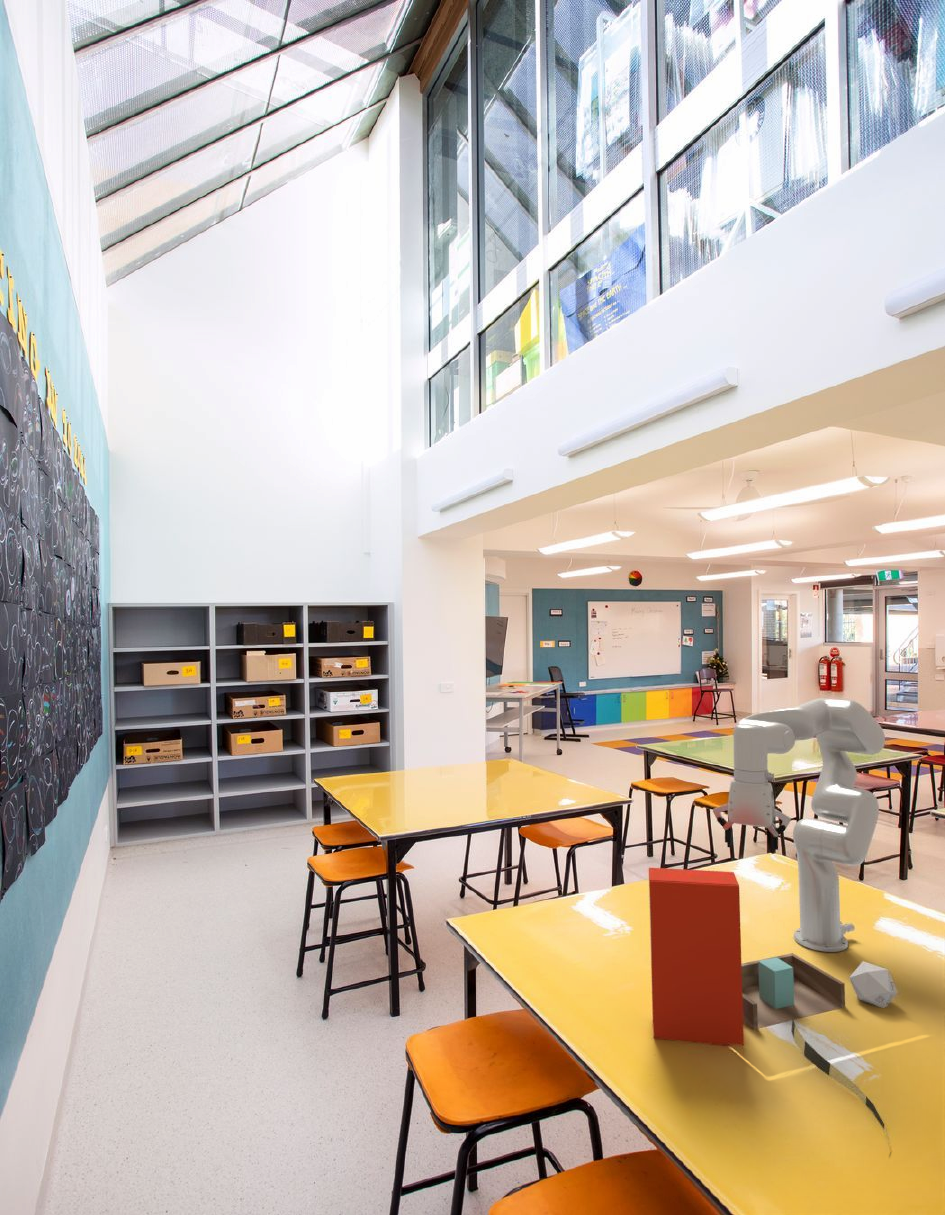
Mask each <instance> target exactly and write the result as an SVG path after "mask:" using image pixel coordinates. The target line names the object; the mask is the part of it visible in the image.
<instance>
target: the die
mask: <svg viewBox="0 0 945 1215" xmlns="http://www.w3.org/2000/svg"><path fill="white" fill-rule="evenodd" d="M848 979H849V981H850V983H851V985H852V988H853V990H854V993H855V995H856V997H857V999H859V1001H861V1002H864V1003H868V1004H870V1005H872V1006H876V1007H878V1008H883V1009H885V1008H887V1007H888V1006H889V1004H890V1003H892V1001H893V999H894V998H895V997H896V996H897V995H898V993H899V991H898V988H897V987H896V985H895V983H894V980H893V978H892V976H891V973H890V971H889V969H887V968H884V967H881V966H878V965H875V964H873V963H869V962H866V961H862V962H861V963H860V964H859V965H858V966H857V968H856V969H855V970H854V972H852V974H850V976H849V977H848Z"/></svg>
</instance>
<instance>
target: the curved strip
mask: <svg viewBox="0 0 945 1215" xmlns="http://www.w3.org/2000/svg"><path fill="white" fill-rule="evenodd" d="M791 1021H792V1022H791V1033H792V1038H793V1040H794V1043H795V1044H796V1045H797V1047H798V1048H799V1050H800V1052H801V1053H802V1054H803V1056H804V1057H805V1058H806V1059H807V1060H808V1061H809V1062H811V1063H812V1064H813V1066H815V1067H816V1068H818V1069H819V1070H820V1071H822V1072H823V1073H824V1074H826V1075H827V1076H828V1077H830V1078H831V1079H833V1080H834V1081H836V1082H838V1083H839V1084H840V1085H841V1086H843V1087H844V1088H845V1089H847V1090H849V1091H850V1092H852V1093H853V1094H854V1095H855V1096H856V1097H857V1098H858V1099H859V1100H860V1101H861V1102H862V1103H863V1104H864V1106H866V1107H867V1108H868V1109H869V1110H870V1111H871V1112H872V1113H873V1116H874V1117H875V1118H876V1120H877V1122H878V1123H879V1124H880V1126H881V1127H882V1129H883V1131H884V1133H885V1138H886V1140H887V1143H888V1144H887V1145H888V1148H889V1151H890V1152H891V1146H890V1143H889V1138H888V1133H887V1128H886V1125H885V1123H884V1121H883V1119H882V1118H881V1116H880V1114H879V1112H878V1110H877V1108H876V1106H875V1105H874V1103H873V1102H872V1101H871V1100H870V1099H869V1097H867V1095H866V1094H865V1093H864V1091H863V1090H862V1089H861V1088H860V1087H859V1086H858V1084H857V1083H855V1082H854V1081H853V1080H852V1079H850V1078H849V1077H847V1076H846V1075H845V1074H844V1073H843V1072H841V1071H840V1070H839V1069H838V1068H837V1067H836V1066H834V1065H833V1064H832V1063H830V1062H829V1061H828V1060H827V1059H825V1058H824V1057H823V1056H821V1055H820V1054H819V1053H818V1052H817V1051H816V1050H815V1049H814V1048H813V1047H812V1046H811V1044H809V1043H808V1042H807V1041H806V1040H805V1038H804V1037H803V1035H802V1034H801V1033H800V1031H799V1029H798V1028H797V1026H796V1024H795V1020H793V1019H792V1020H791Z"/></svg>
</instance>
